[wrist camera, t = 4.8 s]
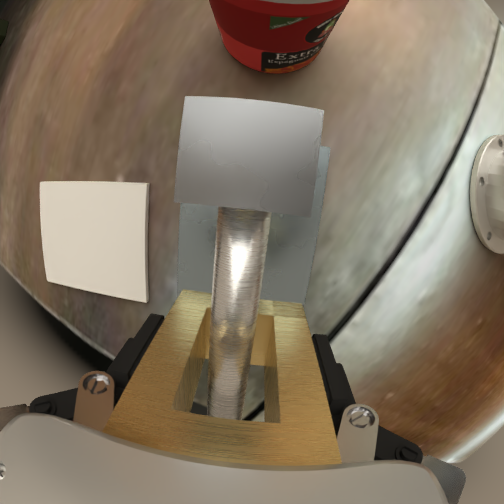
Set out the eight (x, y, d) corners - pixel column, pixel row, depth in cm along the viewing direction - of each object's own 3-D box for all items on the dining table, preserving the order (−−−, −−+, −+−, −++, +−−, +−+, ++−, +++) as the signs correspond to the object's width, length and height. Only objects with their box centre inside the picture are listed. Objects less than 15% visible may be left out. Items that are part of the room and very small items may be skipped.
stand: (326, 148, 19) (451, 120, 5) (293, 337, 23) (316, 484, 10) (191, 133, 19) (69, 80, 5) (181, 324, 23) (121, 460, 10)
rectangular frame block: (301, 303, 13) (342, 464, 5) (291, 350, 14) (309, 501, 6) (182, 289, 13) (101, 433, 5) (183, 337, 14) (126, 478, 6)
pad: (149, 183, 20) (146, 183, 19) (148, 299, 23) (146, 302, 22) (43, 181, 20) (39, 182, 19) (50, 278, 23) (47, 280, 22)
